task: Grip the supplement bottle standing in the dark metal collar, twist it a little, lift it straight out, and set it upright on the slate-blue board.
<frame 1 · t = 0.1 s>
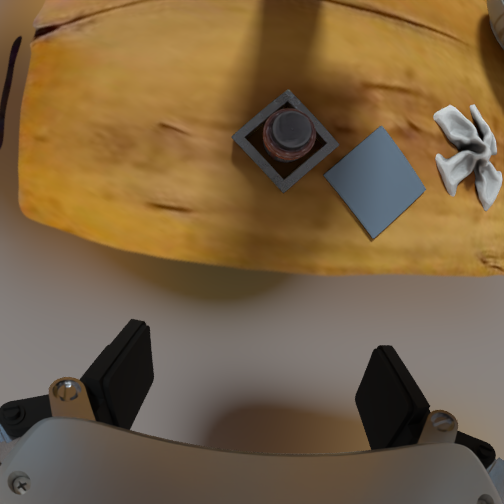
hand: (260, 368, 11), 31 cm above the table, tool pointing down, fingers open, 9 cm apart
supplement bottle: (284, 142, 38), resting in collar
collar: (284, 142, 37), on the table
board: (377, 181, 38), on the table
cloth: (469, 147, 36), on the table
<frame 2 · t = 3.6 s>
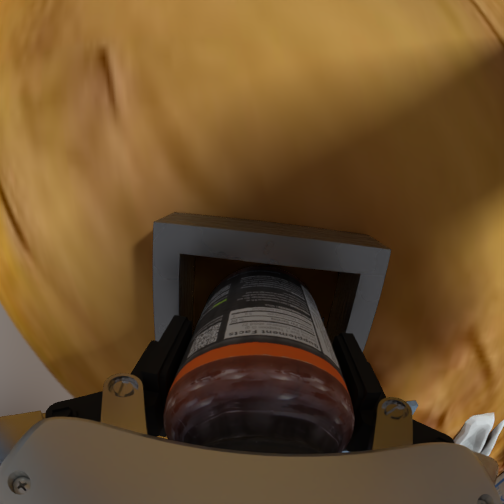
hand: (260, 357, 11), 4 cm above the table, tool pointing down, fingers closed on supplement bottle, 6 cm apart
supplement bottle: (261, 311, 16), resting in collar, touching gripper
supplement tub: (502, 474, 26), on the table
collar: (261, 313, 15), on the table
cloth: (453, 454, 21), on the table
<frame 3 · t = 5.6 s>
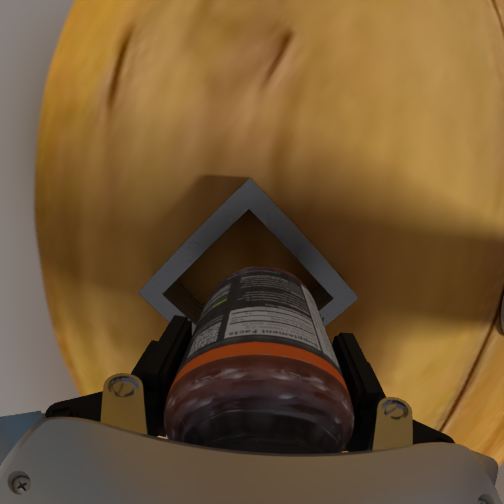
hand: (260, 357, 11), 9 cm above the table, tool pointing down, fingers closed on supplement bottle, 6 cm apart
supplement bottle: (261, 311, 16), point 5 cm above the table, touching gripper
collar: (248, 280, 20), on the table
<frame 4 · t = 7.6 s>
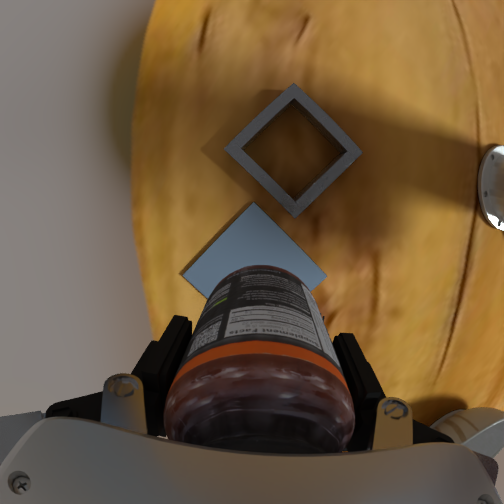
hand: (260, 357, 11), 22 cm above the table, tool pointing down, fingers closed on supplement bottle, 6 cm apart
supplement bottle: (261, 311, 16), point 17 cm above the table, touching gripper
decorative bowl: (443, 428, 42), on the table
collar: (292, 150, 30), on the table
board: (254, 274, 34), on the table
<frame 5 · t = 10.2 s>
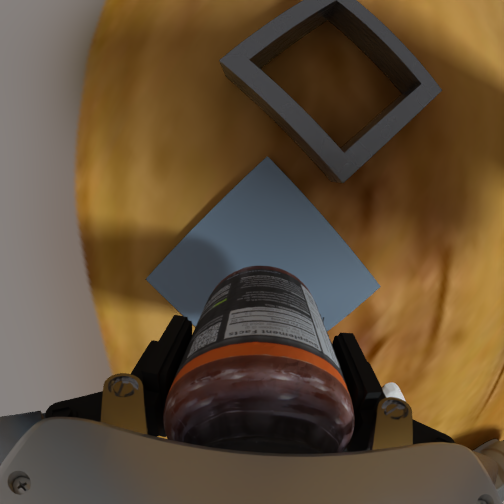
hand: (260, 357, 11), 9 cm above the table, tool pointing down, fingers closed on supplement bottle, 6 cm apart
supplement bottle: (261, 311, 16), point 5 cm above the table, touching gripper
decorative bowl: (472, 459, 28), on the table
collar: (331, 81, 16), on the table
board: (263, 281, 20), on the table
when the fingers open (6 cm above the table, at t = 11.8 s): supplement bottle drops 1 cm, resting on board.
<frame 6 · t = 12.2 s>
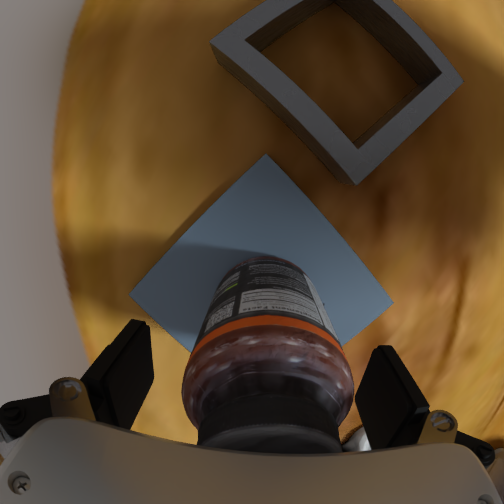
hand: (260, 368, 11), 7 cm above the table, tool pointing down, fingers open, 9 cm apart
supplement bottle: (266, 300, 17), resting on board
collar: (339, 68, 13), on the table
board: (261, 298, 17), on the table
cloth: (343, 456, 23), on the table
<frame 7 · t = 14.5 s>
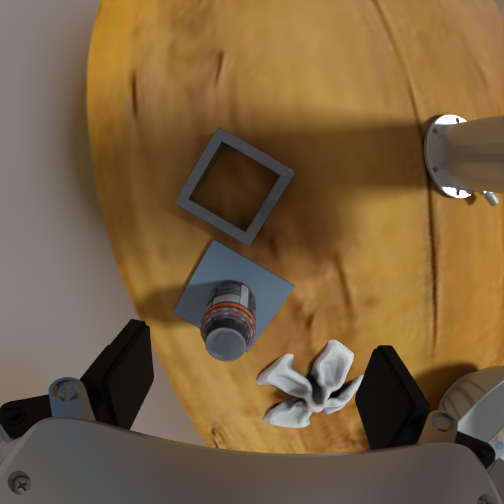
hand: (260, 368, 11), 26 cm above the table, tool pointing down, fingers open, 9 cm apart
snack box: (477, 429, 50), on the table
supplement bottle: (233, 299, 38), resting on board
decorative bowl: (459, 393, 44), on the table
collar: (235, 186, 34), on the table
board: (231, 299, 38), on the table
cloth: (318, 385, 43), on the table
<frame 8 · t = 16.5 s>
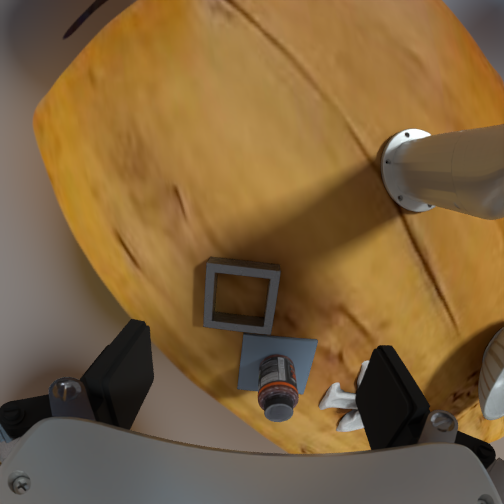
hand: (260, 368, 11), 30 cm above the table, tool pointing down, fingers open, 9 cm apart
supplement bottle: (276, 365, 46), resting on board
decorative bowl: (499, 346, 45), on the table
collar: (241, 292, 43), on the table
board: (275, 365, 46), on the table
cloth: (369, 392, 48), on the table
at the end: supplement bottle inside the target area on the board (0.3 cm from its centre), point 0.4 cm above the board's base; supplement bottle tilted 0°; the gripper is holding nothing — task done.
